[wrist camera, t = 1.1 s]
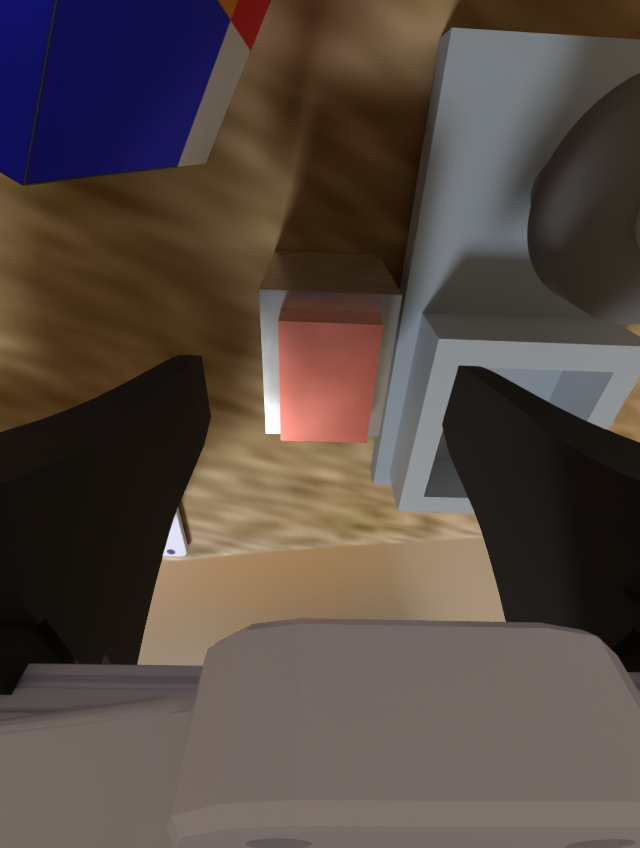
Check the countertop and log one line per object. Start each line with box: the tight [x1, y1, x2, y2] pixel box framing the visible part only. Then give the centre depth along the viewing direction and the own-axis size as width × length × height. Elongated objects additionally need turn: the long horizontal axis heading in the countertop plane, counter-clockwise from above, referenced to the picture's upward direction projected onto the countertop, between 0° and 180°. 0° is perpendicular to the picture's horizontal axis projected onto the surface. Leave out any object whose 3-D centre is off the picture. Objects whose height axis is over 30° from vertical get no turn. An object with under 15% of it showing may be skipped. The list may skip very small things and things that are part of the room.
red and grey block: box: [259, 251, 402, 443], centre depth 14 cm, size 4×5×6 cm
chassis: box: [371, 28, 640, 513], centre depth 15 cm, size 9×17×4 cm, turn 178°
